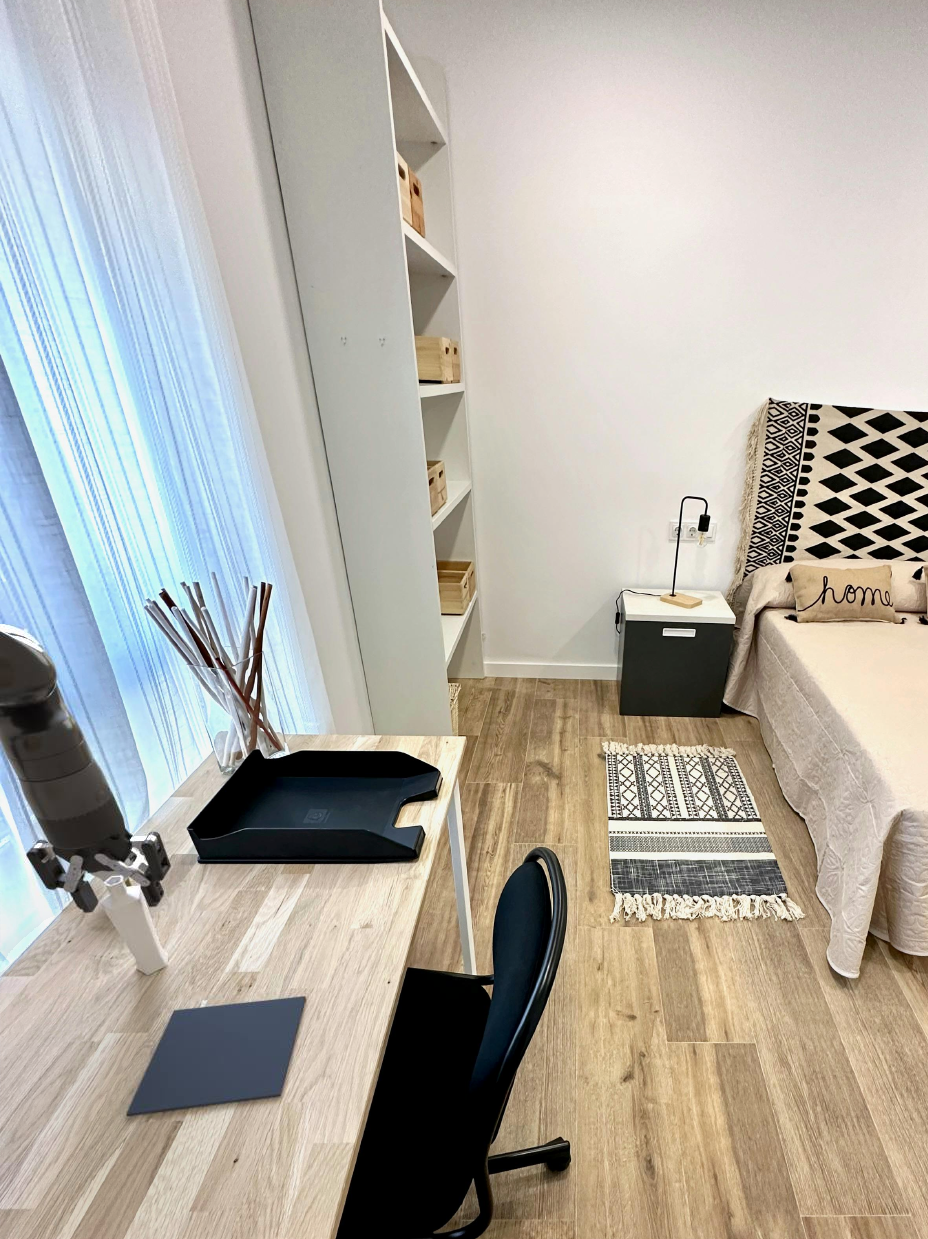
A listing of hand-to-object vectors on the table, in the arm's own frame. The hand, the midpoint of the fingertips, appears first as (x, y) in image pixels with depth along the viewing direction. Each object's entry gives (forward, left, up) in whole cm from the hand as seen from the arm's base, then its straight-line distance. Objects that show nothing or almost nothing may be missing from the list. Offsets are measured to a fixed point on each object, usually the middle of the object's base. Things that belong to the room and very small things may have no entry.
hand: (124, 905), depth 84 cm
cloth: (+14, -16, -11) cm, 24 cm away
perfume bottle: (0, 0, -11) cm, 11 cm away
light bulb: (-10, +16, -11) cm, 22 cm away
